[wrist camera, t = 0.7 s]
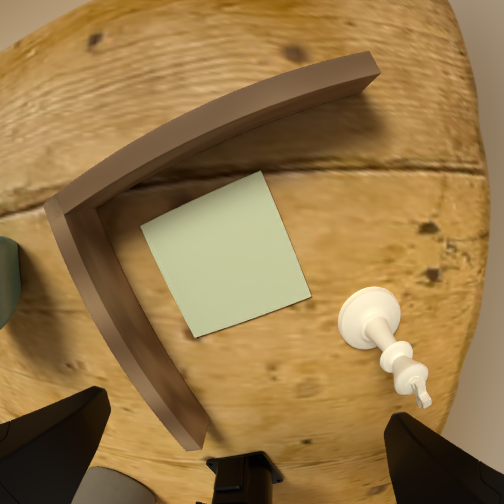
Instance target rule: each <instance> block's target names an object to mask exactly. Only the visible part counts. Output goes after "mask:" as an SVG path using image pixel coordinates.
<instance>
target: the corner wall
mask: <svg viewBox="0 0 504 504" xmlns="http://www.w3.org/2000/svg"><path fill="white" fill-rule="evenodd" d="M380 74H381V72H380V70H379V68H378V66H377V64H376V62H375V61H374V59H373V57H372V55H371V53H370V52H369V51H367V52H362V53H357V54H352V55H348V56H343V57H339V58H335V59H331V60H327V61H323V62H320V63H316V64H313V65H309V66H306V67H302V68H299V69H296V70H292V71H289V72H286V73H283V74H280V75H277V76H274V77H271V78H269V79H266V80H263V81H260V82H257V83H255V84H252V85H250V86H247V87H244V88H242V89H239V90H237V91H234V92H232V93H230V94H227V95H225V96H222V97H220V98H218V99H216V100H213V101H211V102H209V103H207V104H204V105H202V106H200V107H198V108H196V109H194V110H192V111H189V112H187V113H185V114H183V115H181V116H179V117H177V118H175V119H173V120H171V121H170V122H168V123H166V124H164V125H162V126H160V127H158V128H156V129H155V130H153V131H151V132H149V133H147V134H146V135H144V136H142V137H140V138H139V139H137V140H135V141H133V142H132V143H130V144H128V145H127V146H125V147H123V148H122V149H120V150H119V151H117V152H115V153H114V154H112V155H111V156H109V157H107V158H106V159H104V160H103V161H101V162H100V163H98V164H97V165H95V166H94V167H92V168H91V169H89V170H88V171H87V172H85V173H84V174H82V175H81V176H79V177H78V178H77V179H75V180H74V181H72V182H71V183H70V184H68V185H67V186H66V187H64V188H63V189H62V190H60V191H59V192H58V193H56V194H55V195H54V196H53V197H51V198H50V199H49V200H48V201H46V202H45V203H44V204H43V206H44V209H45V212H46V215H47V218H48V221H49V223H50V226H51V229H52V232H53V234H54V237H55V239H56V242H57V244H58V247H59V249H60V252H61V254H62V257H63V259H64V261H65V264H66V266H67V268H68V270H69V273H70V275H71V277H72V279H73V281H74V283H75V285H76V288H77V290H78V292H79V294H80V296H81V298H82V300H83V302H84V304H85V305H86V307H87V309H88V311H89V313H90V315H91V317H92V319H93V320H94V322H95V324H96V326H97V328H98V329H99V331H100V333H101V335H102V336H103V338H104V340H105V341H106V343H107V345H108V346H109V348H110V350H111V351H112V353H113V355H114V356H115V358H116V359H117V361H118V362H119V364H120V366H121V367H122V369H123V370H124V372H125V373H126V375H127V376H128V378H129V379H130V381H131V382H132V383H133V385H134V386H135V388H136V389H137V391H138V392H139V393H140V395H141V396H142V397H143V399H144V400H145V402H146V403H147V404H148V406H149V407H150V408H151V409H152V411H153V412H154V413H155V415H156V416H157V417H158V418H159V420H160V421H161V422H162V423H163V425H164V426H165V427H166V428H167V430H168V431H169V432H170V433H171V434H172V436H173V437H174V438H175V439H176V440H177V441H178V443H179V444H180V445H181V446H182V447H183V448H184V449H185V450H186V451H195V450H202V448H203V443H204V439H205V435H206V431H207V427H208V423H209V419H210V417H209V416H208V415H207V413H206V412H205V410H204V409H203V408H202V406H201V405H200V403H199V402H198V400H197V399H196V398H195V396H194V395H193V393H192V392H191V390H190V389H189V387H188V386H187V384H186V383H185V381H184V380H183V378H182V376H181V375H180V373H179V372H178V370H177V369H176V367H175V365H174V364H173V362H172V361H171V359H170V357H169V356H168V354H167V352H166V351H165V349H164V347H163V346H162V344H161V342H160V341H159V339H158V337H157V335H156V334H155V332H154V330H153V328H152V327H151V325H150V323H149V321H148V319H147V317H146V316H145V314H144V312H143V310H142V308H141V306H140V304H139V302H138V301H137V299H136V297H135V295H134V293H133V291H132V289H131V287H130V285H129V283H128V281H127V279H126V277H125V275H124V272H123V270H122V268H121V266H120V264H119V262H118V260H117V258H116V255H115V253H114V251H113V249H112V246H111V244H110V242H109V240H108V237H107V235H106V232H105V230H104V228H103V225H102V223H101V220H100V218H99V215H98V213H97V210H96V208H98V207H99V206H101V205H102V204H104V203H106V202H107V201H109V200H111V199H112V198H114V197H116V196H117V195H119V194H121V193H123V192H124V191H126V190H128V189H130V188H131V187H133V186H135V185H137V184H139V183H140V182H142V181H144V180H146V179H148V178H150V177H151V176H153V175H155V174H157V173H159V172H161V171H163V170H165V169H167V168H169V167H170V166H172V165H174V164H176V163H178V162H180V161H182V160H185V159H187V158H189V157H191V156H193V155H195V154H197V153H199V152H201V151H203V150H205V149H208V148H210V147H212V146H214V145H216V144H219V143H221V142H223V141H225V140H228V139H230V138H232V137H235V136H237V135H239V134H242V133H244V132H247V131H249V130H252V129H254V128H256V127H259V126H262V125H264V124H267V123H269V122H272V121H274V120H277V119H280V118H283V117H285V116H288V115H291V114H294V113H296V112H299V111H302V110H305V109H308V108H311V107H314V106H317V105H320V104H323V103H326V102H330V101H333V100H336V99H339V98H343V97H346V96H350V95H353V94H357V93H360V92H362V91H363V90H364V89H365V88H366V87H367V86H368V85H369V84H370V83H371V82H372V81H373V80H374V79H375V78H376V77H377V76H378V75H380Z"/></svg>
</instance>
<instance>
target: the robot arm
mask: <svg viewBox="0 0 504 504" xmlns="http://www.w3.org/2000/svg"><path fill="white" fill-rule="evenodd" d="M110 413H111V406H110V402H109V399H108V395H107V391H106V390H105V389H104V388H101V387H97V386H92V387H90V388H88V389H85V390H83V391H81V392H79V393H76V394H74V395H72V396H69V397H67V398H65V399H63V400H60V401H58V402H55V403H53V404H51V405H48V406H46V407H44V408H41V409H39V410H36V411H34V412H31V413H29V414H26V415H24V416H21V417H19V418H16V419H13V420H11V422H10V421H8V422H5V423H3V424H0V504H71V503H72V501H73V498H74V496H75V494H76V492H77V490H78V488H79V486H80V484H81V481H82V479H83V477H84V475H85V473H86V471H87V469H88V467H89V465H90V463H91V461H92V459H93V457H94V455H95V453H96V451H97V449H98V446H99V443H100V441H101V438H102V435H103V432H104V429H105V427H106V424H107V421H108V418H109V416H110ZM384 440H385V447H386V453H387V460H388V467H389V473H390V478H391V481H392V485H393V489H394V493H395V497H396V501H397V504H504V474H502V473H500V472H498V471H496V470H494V469H493V468H491V467H489V466H487V465H486V464H484V463H483V462H481V461H479V460H478V459H476V458H474V457H473V456H471V455H470V454H468V453H466V452H465V451H463V450H462V449H460V448H459V447H457V446H456V445H454V444H452V443H451V442H449V441H448V440H446V439H445V438H443V437H442V436H440V435H439V434H437V433H436V432H434V431H433V430H431V429H430V428H428V427H427V426H425V425H424V424H422V423H421V422H419V421H418V420H416V419H415V418H413V417H412V416H411V415H409V414H408V413H406V412H398V413H394V414H393V415H392V416H391V418H390V420H389V422H388V424H387V426H386V428H385V431H384ZM206 465H207V466H208V467H209V468H210V469H211V470H212V471H213V472H214V473H215V474H216V478H215V483H214V493H213V499H212V504H272V484H275V483H280V482H283V477H282V475H281V474H280V473H279V471H278V470H277V469H276V467H275V466H274V465H273V464H272V462H271V461H270V459H269V458H268V457H267V455H266V454H265V453H264V452H261V451H259V452H253V453H248V454H242V455H237V456H230V457H223V458H216V459H209V460H207V462H206ZM196 504H205V503H202V502H196Z"/></svg>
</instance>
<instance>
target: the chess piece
mask: <svg viewBox="0 0 504 504" xmlns="http://www.w3.org/2000/svg"><path fill="white" fill-rule="evenodd" d="M400 317H401V311H400V306H399V303H398V301H397V300H396V298H395V297H394V295H393V294H392V293H391V292H390V291H388V290H387V289H384V288H381V287H367V288H364V289H361V290H359V291H357V292H356V293H354V294H353V295H352V296H350V297H349V298H348V299H347V300H346V302H345V303H344V304H343V306H342V308H341V310H340V313H339V316H338V329H339V332H340V334H341V336H342V337H343V339H344V340H345V341H346V342H347V343H348V344H349V345H351V346H352V347H354V348H357V349H372V348H375V347H378V348H379V349H380V350H381V351H382V352H383V353H382V355H381V358H380V365H381V367H382V369H383V370H385V371H386V372H389V373H393V374H394V387H395V390H396V392H397V393H399V394H401V395H409V394H412V393H414V394H415V395H416V402H417V405H418V406H419V408H421V407H423V408H426V407H428V406H430V405H431V398H430V397H429V395H428V394H427V392H426V384H425V382H426V380H427V378H428V369H427V367H426V366H425V365H423V364H422V363H420V362H417V361H414V360H413V359H412V356H413V351H412V347H411V345H410V344H409V343H408V342H405V341H398V342H397V341H396V340H395V337H394V335H393V334H394V333H395V331H396V330H397V328H398V325H399V322H400Z"/></svg>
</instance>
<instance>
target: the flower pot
mask: <svg viewBox="0 0 504 504" xmlns="http://www.w3.org/2000/svg"><path fill="white" fill-rule="evenodd" d="M20 294H21V281H20V272H19V258H18V245H17V243H16V242H15V241H14V240H12V239H10V238H7V237H4V236H0V330H1V329H2V328H3V327H4V326H5V324H6V323H7V322H8V321H9V319H10V318H11V316H12V314H13V313H14V311H15V309H16V306H17V304H18V301H19V298H20Z"/></svg>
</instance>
